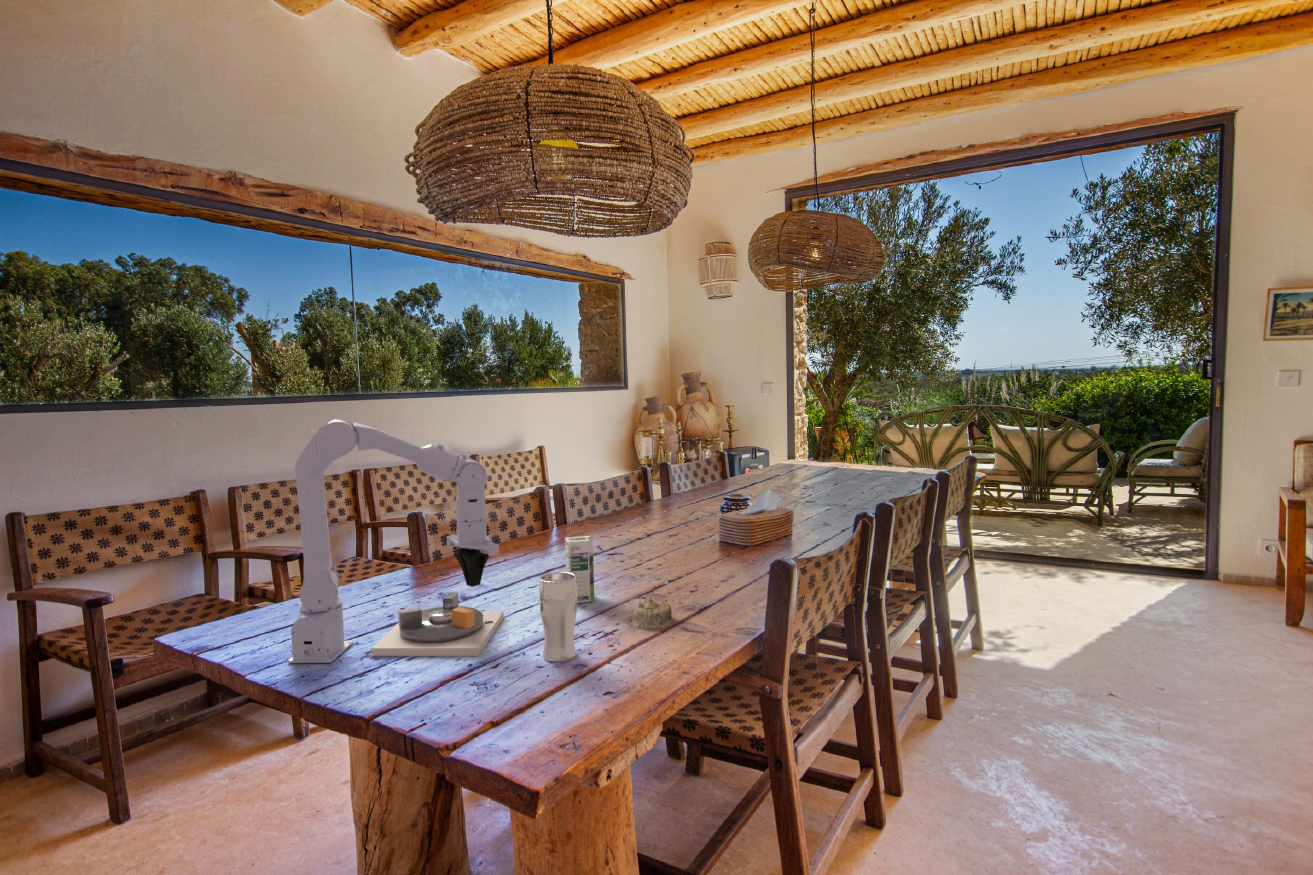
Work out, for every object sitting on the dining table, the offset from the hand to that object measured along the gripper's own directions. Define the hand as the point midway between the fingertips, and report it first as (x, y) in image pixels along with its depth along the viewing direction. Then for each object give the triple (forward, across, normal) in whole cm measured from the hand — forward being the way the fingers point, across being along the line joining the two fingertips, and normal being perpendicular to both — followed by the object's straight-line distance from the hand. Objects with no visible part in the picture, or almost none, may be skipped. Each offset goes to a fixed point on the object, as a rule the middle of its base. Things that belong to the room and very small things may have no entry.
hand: (473, 584), depth 141 cm
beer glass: (+10, -23, -2) cm, 25 cm away
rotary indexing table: (+8, +2, +6) cm, 10 cm away
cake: (+10, -25, -26) cm, 38 cm away
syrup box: (+10, -4, -27) cm, 29 cm away
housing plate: (+9, +2, +6) cm, 11 cm away
